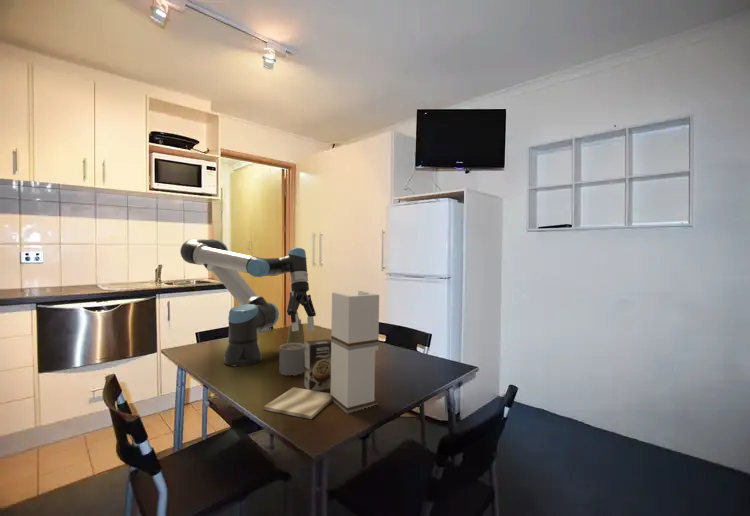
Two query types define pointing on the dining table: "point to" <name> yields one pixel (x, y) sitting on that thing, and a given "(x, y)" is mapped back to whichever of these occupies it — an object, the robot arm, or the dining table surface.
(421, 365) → the dining table surface
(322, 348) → the coffee box
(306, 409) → the birch board
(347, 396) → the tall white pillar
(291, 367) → the coffee mug
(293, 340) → the squeeze bottle
